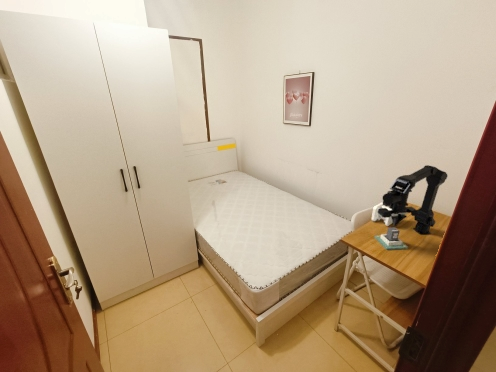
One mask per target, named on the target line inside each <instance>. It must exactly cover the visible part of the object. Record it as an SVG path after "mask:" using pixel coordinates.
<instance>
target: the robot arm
mask: <svg viewBox="0 0 496 372" xmlns="http://www.w3.org/2000/svg"><path fill="white" fill-rule="evenodd" d="M424 179H425V182H426V184H427V187H426V190H425V193H424V196H423V201H422V203H421V207H419V208H418V209H417V208H414V207H413V206H409V203H408V199H409V195H410V193H411V192H412V191H413V188H415V187H416V184H417V183H419V182H421V181H422V180H424ZM447 179H448V173H447V172H446V171H444V170H441V169H439V168H437V167H436V166H434V165H428V164H426V165H424V166H423V167H422V168H421V169H418V170H416V171H414V172H413V173H410V174H407V175H406V174H405V175H404V174H403V175H401V176H398V177H397V178H396V179H395V180H394V182H393V183H392V185H391V186H389V187H390V188H389V190H388V191H387V192H386V193H385V194H383V195H382V202H383V205H385V206H386V207H389V208H390V209H392V210H388V209H386V208H380V209H378V213H379V214H380V215H381V216H382V217H384V218H386V217H390V216H391V217H392V221H393V223H392V225H393V226H396V227H397V226H398V224H400V222H402V221H403V220H404V219H406V218H408V216H407V215H406V214H410V215H411V216H412V217H414V221H416V223H415V227H413V228H412V229H413V230H414V231H415V232H417V233H418V234H419V235H431V233H432V232H431V231H430V228H432V227H434V226H435V224H436V220H435V219H434V215H435V214H434V211H433V207H434V204H435V200H436V197H437V194H438V190H439V188H440V186H442V184H444V183H445V182H446V180H447Z"/></svg>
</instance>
